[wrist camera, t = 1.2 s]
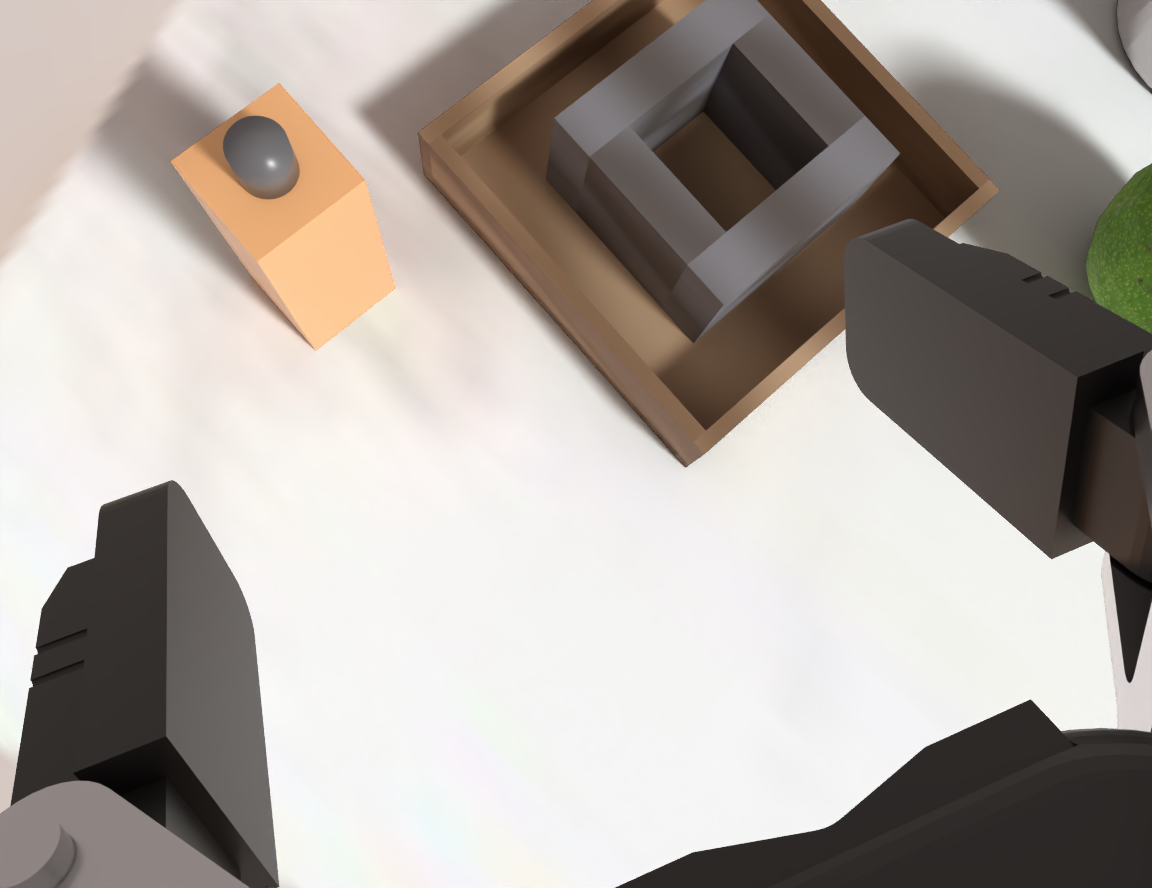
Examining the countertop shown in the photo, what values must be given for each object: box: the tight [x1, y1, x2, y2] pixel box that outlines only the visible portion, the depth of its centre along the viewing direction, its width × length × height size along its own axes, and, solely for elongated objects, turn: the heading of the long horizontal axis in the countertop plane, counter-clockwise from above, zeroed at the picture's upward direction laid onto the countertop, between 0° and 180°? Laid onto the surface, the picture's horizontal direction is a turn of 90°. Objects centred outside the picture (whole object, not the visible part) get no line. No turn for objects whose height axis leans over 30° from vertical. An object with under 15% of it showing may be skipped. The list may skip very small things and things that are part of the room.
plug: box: [170, 83, 395, 350], centre depth 33 cm, size 4×4×12 cm
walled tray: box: [418, 0, 1000, 467], centre depth 38 cm, size 16×16×6 cm
